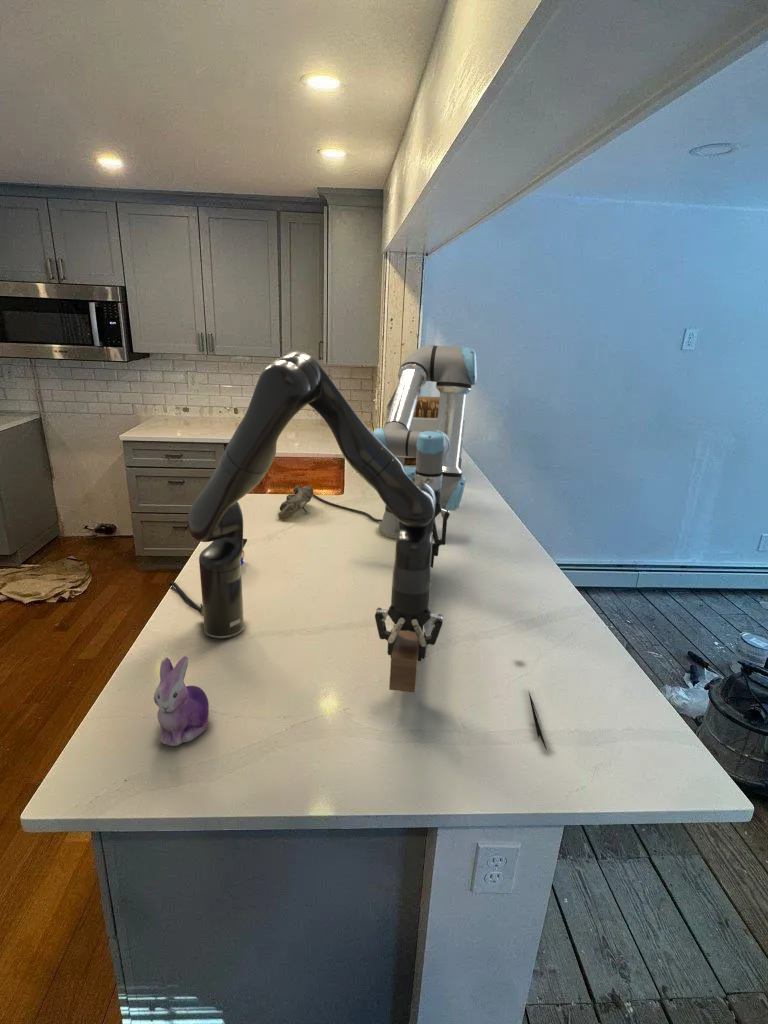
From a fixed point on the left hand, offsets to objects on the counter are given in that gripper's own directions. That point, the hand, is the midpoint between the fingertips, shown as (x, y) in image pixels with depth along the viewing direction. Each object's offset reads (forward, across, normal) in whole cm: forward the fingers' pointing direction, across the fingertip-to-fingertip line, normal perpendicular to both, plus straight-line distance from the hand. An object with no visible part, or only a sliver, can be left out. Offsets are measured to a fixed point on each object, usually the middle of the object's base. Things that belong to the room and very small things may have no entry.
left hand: (406, 657), depth 117 cm
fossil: (+8, -51, +98) cm, 111 cm away
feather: (+7, +26, 0) cm, 27 cm away
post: (+3, 0, +25) cm, 25 cm away
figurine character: (+7, -56, +45) cm, 72 cm away
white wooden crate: (+8, -9, +166) cm, 166 cm away
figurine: (+7, -39, -20) cm, 44 cm away
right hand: (+2, 0, +51) cm, 51 cm away
